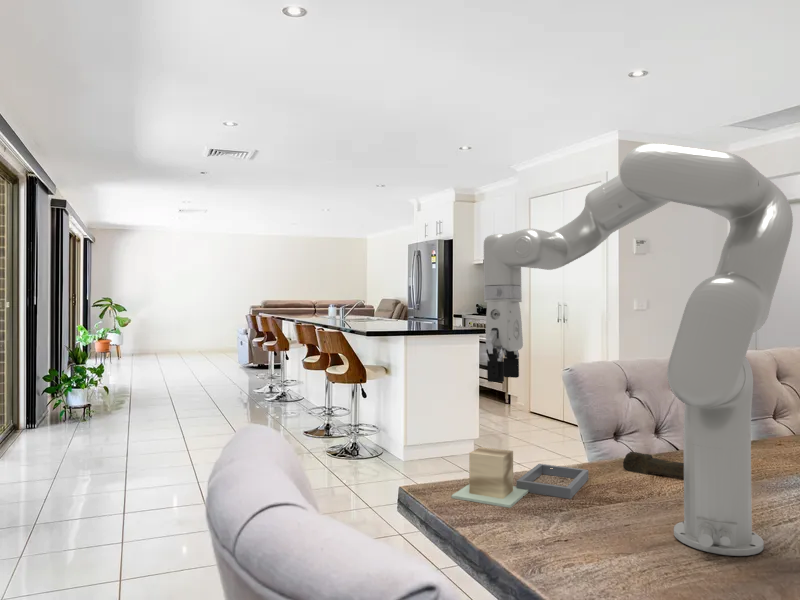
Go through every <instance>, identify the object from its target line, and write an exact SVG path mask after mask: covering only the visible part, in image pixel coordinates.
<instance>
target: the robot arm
mask: <svg viewBox="0 0 800 600" xmlns="http://www.w3.org/2000/svg"><path fill="white" fill-rule="evenodd" d="M671 202H672V203H677V204H682V205H687V206H692V207H697V208H702V209H704V210H705V209H706V210H709V212H712V213H714V214H717V215H719V216H720V217H723V218H725V219H726V220H728V222H729V232H728V235H727V237H726V239H725V241H724V244H723V247H722V250H721V253H720V256H719V257H720V258H719V261H718V264H717V266H716V270H715V273H714V275H713V276H710V277H708V278H706V279H704V280H703V281H701V282H700V283H699V284H698V285H697V286H696V287H695V288H694V289H693V290H692V292H691V294H690V295H689V296H688V297H689V298H688V300H687V302H686V303H685V304H686V305H685V306H684V310H683V313H682V317H681V319H680V320H681V321H680V324H679V326H678V330H677V333H676V337H675V340H674V343H673V347H672V350H671V352H670V353H671V354H670V355H669V356H670V357H669V361H668V365H667V372H666V378H667V382H668V383H667V384H669V388H670V390H671V392H672V393H673V394H674V396H675V397H676V398H677V399H678V400H680V401H681V402H683V403H684V408H683V409H684V411H683V463H684V478H683V516H684V517H683V520H684V521H680V522H677V523H676V524H674V526H673V535H674V537H675V539H677V540H678V541H679V542H681V543H682V544H685V545H687V546H689V547H691V548H693V549H696V550H699V551H703V552H707V553H710V554H716V555H723V556H735V557H745V556H747V557H748V556H753V555H757V554H759V553H761V552H762V551H763V550H764V545H765V542H764V539H763V538H762V537H761V536H760V535H758V534H757V533H756V532H754V531H753V529H752V527H753V526H752V525H753V522H752V518H753V517H752V516H753V515H752V513H753V512H752V506H753V505H752V406H753V395H754V393H753V391H754V375H753V370H752V366H751V363H750V361H749V359H748V358H747V353H748V350H749V347H750V344H751V341H752V337H753V334H754V333H755V332H757V331H759V330H760V329H761V328H762V327H763V326H764V325H765V324H766V323H767V320H768V318H769V316H770V315H769V314H770V311H771V307H772V306H771V305H772V301H773V298H774V297H775V296H774V295H775V292H776V289H777V286H778V282H779V280H780V276H781V272H782V270H783V265H784V261H785V257H786V254H787V251H788V249H789V248H788V247H789V244H790V241H791V236H792V231H793V225H794V223H793V221H794V216H793V210H792V207H791V205H790V202H789V200H788V198H787V196H786V195H785V193H784V191H782V189H780V188H779V186H777V185H776V184H775V183H774V182H773V181H772V180H770V179H769V178H768V177H766V176H765V175H764V174H762V173H761V172H760V171H759V170H758V169H757V168H756V167H755V166H753V165H752V164H751V163H750V162H749V161H748V160H746V159H745V158H743V157H742V156H739V155H737V154H734V153H730V152H725V151H719V150H713V149H705V148H704V149H703V148H696V147H688V146H681V145H673V144H667V143H658V142H649V143H643V144H641V145H638V146H636V147H634V148H633V149H632V150H630V151H629V152H628V153H627V154H626V155H625V156H624V158H623V160H622V162H621V165H620V168H619V174H618V175H617V176H614V177H613V178H612V179H609V180H608V181H607V182H604V183H603V184H601V185H599V186H597V187H596V188H594V189H592V190H591V191H589V192H588V193H587V195H586V196H585V200H584V208H583V209H582V211H581V212H580V213H579V215H578V216H577V217H575V218H574V219H572V220H571V221H570V222H568V223H566V224H564V225H563V226H561V227H560V228H557V229H556V230H554V231H546V230H541V229H536V228H525V229H520V230H517V231H514V232H510V233H495V234H491V235H487V236H486V237H485V238H484V239H483V297H484V298H483V299H484V301H483V302H484V303H486V314H485V315H486V317H485V344H486V345H485V346H486V350H485V352H486V354H487V355H486V363H487V365H486V366H487V367H486V369H487V381H488V382H490V383H503V382H505V378H516V379H518V378H519V377H520V358H519V357H520V353H519V351H520V350H522V348H523V346H524V345H523V344H524V343H523V341H524V340H523V327H522V326H523V323H522V322H523V321H522V314H521V313H522V311H521V305H520V303H522V302H523V301H522V268H529V269H540V270H548V271H551V270H556V269H559V268H562V267H564V266H566V265H569V264H570V263H572V262H574V261H576V260H578V259H580V258H582V257H583V256H586V255H587V254H589V253H590V252H592V251H594V250H595V249H596V248H597V247H598V246H600V245H601V244H602V243H603V242H605V241H606V240H607V239H608V237H610V235H612V234H613V233H615V232H616V231H618V230H620V229H622V228H624V227H626V226H627V225H629V224H631V223H632V222H635V221H637V220H639V219H641V218H643V217H644V216H646V215H649V214H650V213H653V211H656V210H657V209H660V208H662V207H663V206H665V205H667V204H668V203H671Z"/></svg>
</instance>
